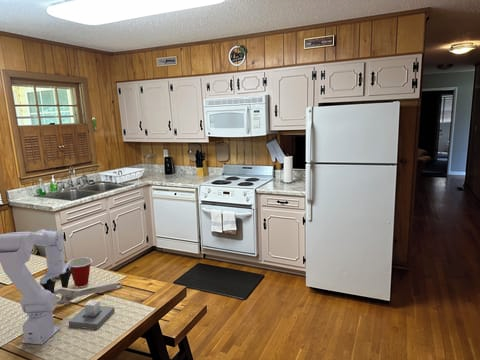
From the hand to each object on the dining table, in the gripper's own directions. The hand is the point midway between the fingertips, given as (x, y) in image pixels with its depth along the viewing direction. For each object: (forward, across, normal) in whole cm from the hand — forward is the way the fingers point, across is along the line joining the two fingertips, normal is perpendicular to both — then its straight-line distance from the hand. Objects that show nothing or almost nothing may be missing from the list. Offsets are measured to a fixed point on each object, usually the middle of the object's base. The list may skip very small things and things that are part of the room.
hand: (58, 292), depth 132 cm
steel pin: (+10, -1, -16) cm, 18 cm away
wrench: (+10, +14, -3) cm, 17 cm away
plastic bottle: (+10, +30, +25) cm, 40 cm away
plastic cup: (+10, +24, +8) cm, 27 cm away
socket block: (+9, -1, -16) cm, 18 cm away
